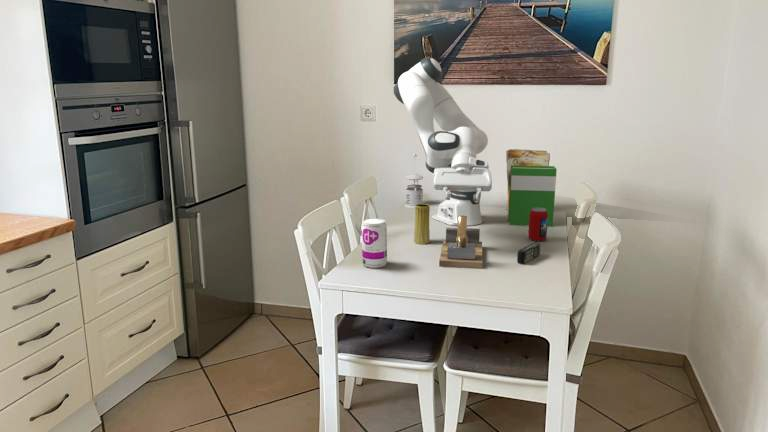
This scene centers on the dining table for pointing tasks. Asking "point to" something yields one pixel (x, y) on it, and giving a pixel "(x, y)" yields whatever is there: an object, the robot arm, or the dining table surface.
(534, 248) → the mobile phone
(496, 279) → the dining table surface
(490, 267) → the dining table surface
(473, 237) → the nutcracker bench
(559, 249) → the dining table surface
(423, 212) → the vase
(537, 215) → the beverage can
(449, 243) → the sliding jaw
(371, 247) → the supplement can
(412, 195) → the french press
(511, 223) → the hardback book
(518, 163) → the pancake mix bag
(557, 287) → the dining table surface
